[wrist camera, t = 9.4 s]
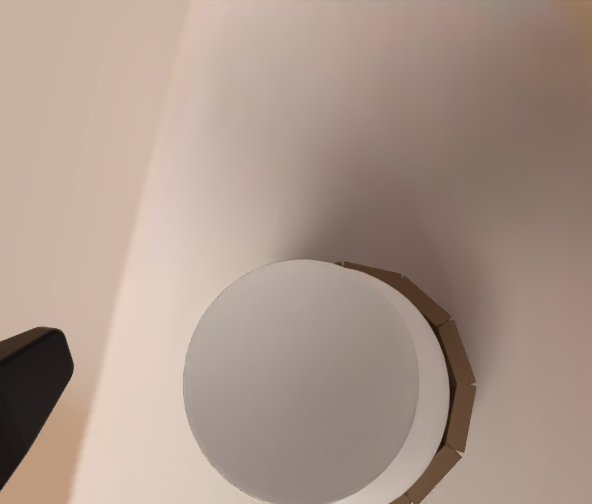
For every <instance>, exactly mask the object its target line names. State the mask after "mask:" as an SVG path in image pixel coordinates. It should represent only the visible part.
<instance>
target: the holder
mask: <svg viewBox="0 0 592 504" xmlns="http://www.w3.org/2000/svg"><path fill="white" fill-rule="evenodd" d="M335 264H336V265H339V266H341V267H342V264H341V262H338V263H335ZM343 267H344V268H348V269H353V270H357V271H360V272H363V273H366V274H368V275H370V276H373V277H375V278H377V279H379V280H381V281H383V282H384V283H386V284H388V285H390V286H391V287H393V288H394V289H396V290H397V291H398V292H400V293H401V294H402V295H403V296H405V297H406V298H407V299H408V300H409V301H410V302H411V303H412V304H413V305H414V306H415V307H416V308H417V309H418V311H419V312H420V313H421V314H422V315H423V317H424V318H425V319H426V321H427V322H428V324H429V325H430V327H431V329H432V330H433V332H434V334H435V336H436V338H437V340H438V342H439V345H440V347H441V350H442V353H443V355H444V359H445V363H446V367H447V372H448V378H449V393H450V396H449V410H448V418H447V422H446V426H445V430H444V433H443V437H442V439H441V442H440V445H439V447H438V449H437V451H436V453H435V455H434V457H433V459H432V460H431V462H430V464H429V465H428V467H427V468H426V470H425V471H424V472H423V474H422V475H421V476H420V477H419V478H418V480H417V481H416V482H415V483H414V484H413V485H412V486H411V487H410V488H409V489H408V490H407V491H406V492H405V493H403V494H402V495H401V496H400V497H398V498H397V499H395V500H394V501H392V502H391V503H389V504H411V502H412V503H413V504H419V503H420V502H421V501H422V500H423V499H424V498H425V497H426V496H427V495H428V493H429V492H430V491H431V490H432V489H433V488H434V487H435V486H436V485H437V484H438V483H439V482H440V480H441V479H442V478H443V477H444V476H445V475H446V474H447V473H448V472H449V471H450V470H451V469H452V468H453V466H454V465H455V464H456V463H457V462H458V461H459V460H460V459H461V458H462V456H460V455H459V454H458V453H457V452H456V451H460V452H463V453H464V451H465V446H466V440H467V435H468V429H469V424H470V418H471V413H472V407H473V402H474V396H475V391H476V386H473V385H470V384H471V383H474V382H476V381H475V378H474V375H473V372H472V370H471V367H470V364H469V361H468V358H467V356H466V353H465V350H464V347H463V345H462V342H461V339H460V336H459V334H458V331H457V328H456V325H455V322H454V320H452V321H449V319H450V318H451V316H450V315H449V314H448V313H447V312H445V311H444V310H443V309H442V308H441V307H440V306H439V305H437V304H436V303H435V302H434V301H433V300H432V299H431V298H429V297H428V296H427V295H426V294H425V293H424V292H423V291H421V290H420V289H419V288H418V287H417V286H416V285H415V284H413V283H412V282H411V281H410V280H409V279H408V278H406V277H405V276H404V277H403V278H402V279H401V274H398V273H394V272H389V271H385V270H380V269H376V268H371V267H366V266H362V265H357V264H353V263H348V262H344V265H343ZM448 321H449V322H448ZM455 450H456V451H455Z"/></svg>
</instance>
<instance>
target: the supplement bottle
mask: <svg viewBox="0 0 592 504" xmlns="http://www.w3.org/2000/svg"><path fill="white" fill-rule="evenodd" d="M183 396H184V403H185V410H186V414H187V418H188V422H189V425H190V427H191V430H192V433H193V435H194V437H195V439H196V441H197V443H198V445H199V447H200V449H201V451H202V453H203V454H204V456H205V457H206V458H207V460H208V461H209V462H210V464H211V465H212V466H213V467H214V468H215V469H216V470H217V471H218V472H219V473H220V474H221V475H222V476H223V477H224V478H225V479H226V480H227V481H228V482H230V483H231V484H232V485H234V486H235V487H237V488H238V489H240V490H241V491H243V492H245V493H246V494H248V495H250V496H252V497H255V498H257V499H259V500H262V501H265V502H267V503H269V504H389V503H391V502H392V501H394V500H395V499H397V498H398V497H400V496H401V495H402V494H403V493H405V492H406V491H407V490H408V489H409V488H410V487H411V486H412V485H413V484H414V483H415V482H416V481H417V480H418V478H419V477H420V476H421V475H422V474H423V472H424V471H425V470H426V468H427V467H428V465H429V464H430V462H431V460H432V459H433V457H434V455H435V453H436V451H437V449H438V447H439V445H440V442H441V439H442V437H443V433H444V430H445V426H446V422H447V418H448V410H449V396H450V393H449V378H448V372H447V367H446V363H445V359H444V355H443V353H442V350H441V347H440V345H439V342H438V340H437V338H436V336H435V334H434V332H433V330H432V329H431V327H430V325H429V324H428V322H427V321H426V319H425V318H424V317H423V315H422V314H421V313H420V312H419V311H418V309H417V308H416V307H415V306H414V305H413V304H412V303H411V302H410V301H409V300H408V299H407V298H406V297H405V296H403V295H402V294H401V293H400V292H398V291H397V290H396V289H394V288H393V287H391V286H390V285H388V284H386V283H384V282H383V281H381V280H379V279H377V278H375V277H373V276H370V275H368V274H366V273H363V272H360V271H357V270H353V269H348V268H344V267H341V266H339V265H336V264H332V263H328V262H324V261H317V260H308V259H298V260H286V261H280V262H276V263H272V264H268V265H266V266H263V267H260V268H258V269H256V270H254V271H251V272H249V273H247V274H246V275H244V276H242V277H241V278H239V279H238V280H236V281H235V282H234V283H232V284H231V285H230V286H228V287H227V288H226V289H225V290H224V291H223V292H222V293H221V294H220V295H219V296H218V297H217V298H216V299H215V300H214V302H213V303H212V304H211V305H210V306H209V308H208V309H207V310H206V312H205V313H204V315H203V316H202V318H201V320H200V321H199V323H198V325H197V327H196V329H195V331H194V333H193V336H192V338H191V341H190V344H189V347H188V351H187V355H186V360H185V366H184V373H183Z"/></svg>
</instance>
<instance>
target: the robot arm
mask: <svg viewBox="0 0 592 504" xmlns="http://www.w3.org/2000/svg"><path fill="white" fill-rule="evenodd" d="M73 370H74V363H73V360H72V356H71V353H70V350H69V347H68V344H67V340H66V337H65V335H64V333H63V332H62V331H61V330H59V329H57V328H49V327H36V328H34V329H31V330H28V331H26V332H24V333H21V334H19V335H16V336H13V337H11V338H8V339H6V340H3V341H1V342H0V492H1V490H2V489H3V487H4V486H5V484H6V483H7V482H8V480H9V479H10V477H11V476H12V474H13V473H14V472H15V470H16V469H17V467H18V466H19V464H20V463H21V461H22V460H23V459H24V457H25V456H26V454H27V453H28V451H29V449H30V448H31V446H32V444H33V443H34V441H35V440H36V438H37V436H38V434H39V432H40V431H41V429H42V427H43V426H44V424H45V422H46V420H47V419H48V417H49V415H50V413H51V412H52V410H53V408H54V407H55V405H56V403H57V401H58V399H59V398H60V396H61V394H62V393H63V391H64V389H65V387H66V386H67V384H68V382H69V381H70V379H71V377H72V374H73Z"/></svg>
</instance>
